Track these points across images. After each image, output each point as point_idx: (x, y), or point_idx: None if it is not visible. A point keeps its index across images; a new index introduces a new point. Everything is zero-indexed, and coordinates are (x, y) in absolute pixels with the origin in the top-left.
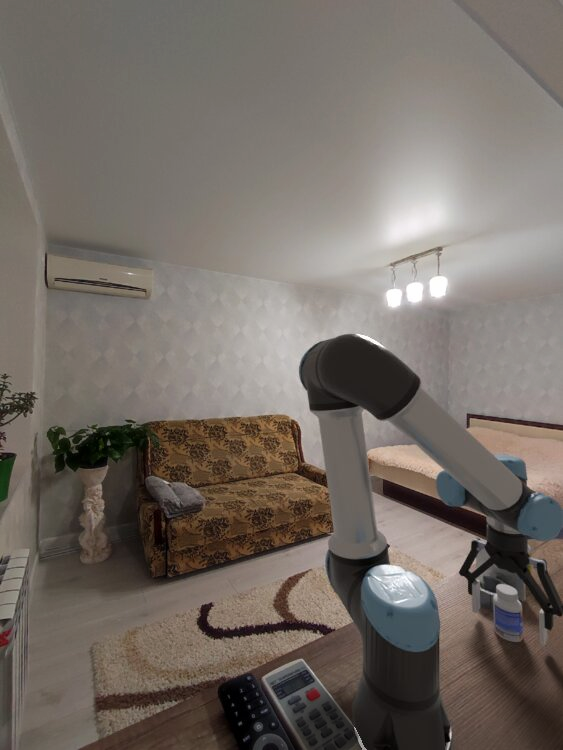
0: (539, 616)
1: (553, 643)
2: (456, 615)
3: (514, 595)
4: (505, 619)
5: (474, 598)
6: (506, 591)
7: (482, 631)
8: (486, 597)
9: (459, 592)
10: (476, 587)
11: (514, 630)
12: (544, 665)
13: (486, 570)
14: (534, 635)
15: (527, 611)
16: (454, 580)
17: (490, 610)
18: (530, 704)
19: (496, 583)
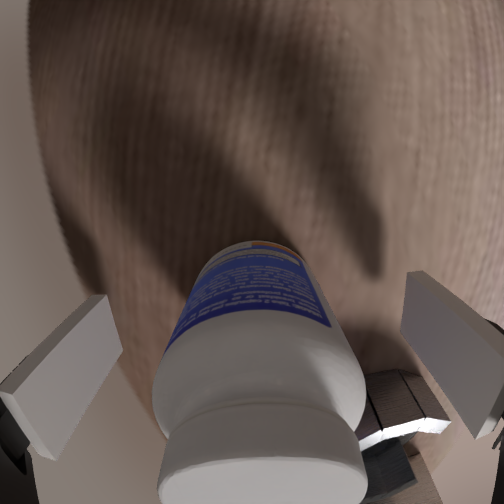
0: (28, 377)
1: (129, 371)
2: (456, 227)
3: (161, 478)
4: (237, 280)
5: (457, 307)
6: (246, 489)
7: (345, 213)
8: (391, 408)
9: None
10: (489, 367)
11: (199, 280)
12: (89, 222)
13: (406, 502)
14: None
15: None
16: None
17: None
18: (77, 4)
19: (368, 487)
